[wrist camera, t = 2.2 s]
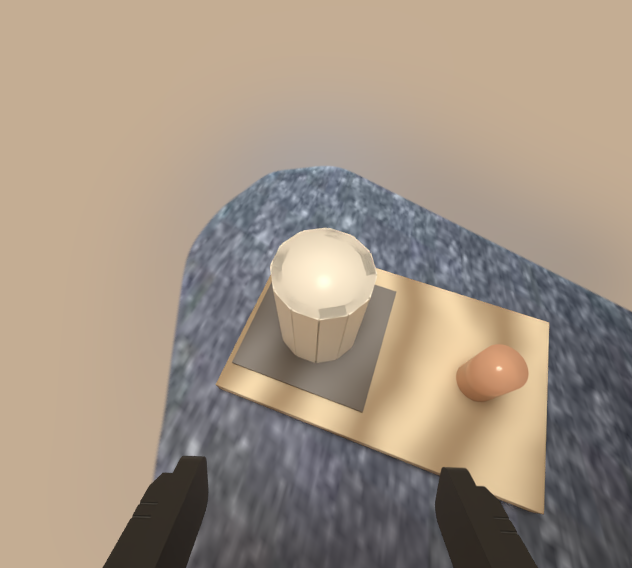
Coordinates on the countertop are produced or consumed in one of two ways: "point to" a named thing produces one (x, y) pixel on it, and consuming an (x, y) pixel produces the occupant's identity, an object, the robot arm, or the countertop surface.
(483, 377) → the peach rounded knob
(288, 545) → the countertop surface
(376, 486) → the countertop surface
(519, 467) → the board
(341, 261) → the cover cup
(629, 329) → the countertop surface
